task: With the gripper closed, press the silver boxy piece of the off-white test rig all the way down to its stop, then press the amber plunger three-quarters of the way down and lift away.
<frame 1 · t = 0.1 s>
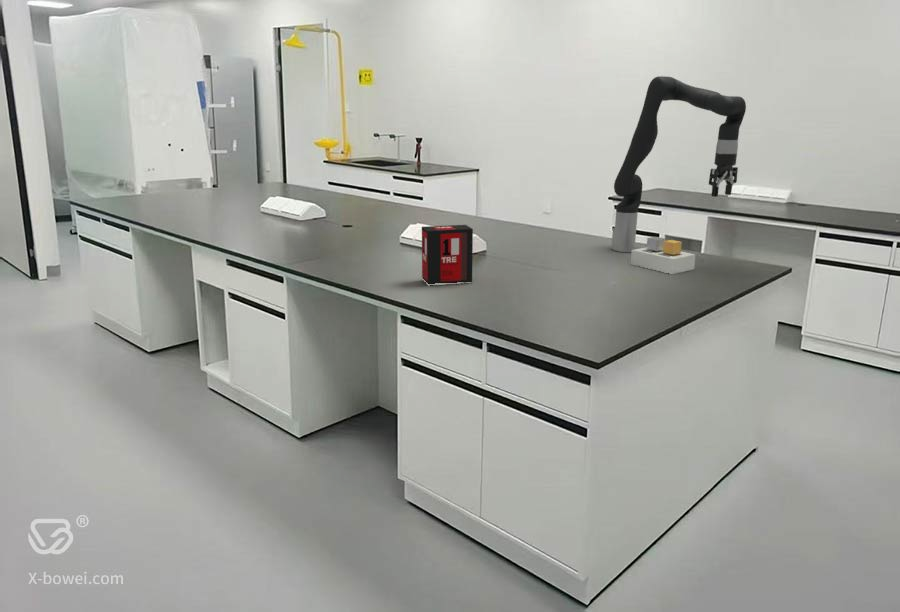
hand: (721, 195, 260), 29 cm above the countertop, fingers open, 8 cm apart
test rig: (661, 266, 273), on the countertop
silver boxy piece: (655, 243, 273), point 9 cm above the countertop, slide at 0.0 cm
amber plunger: (672, 247, 267), point 9 cm above the countertop, slide at 0.0 cm
cleaning product box: (446, 282, 250), on the countertop
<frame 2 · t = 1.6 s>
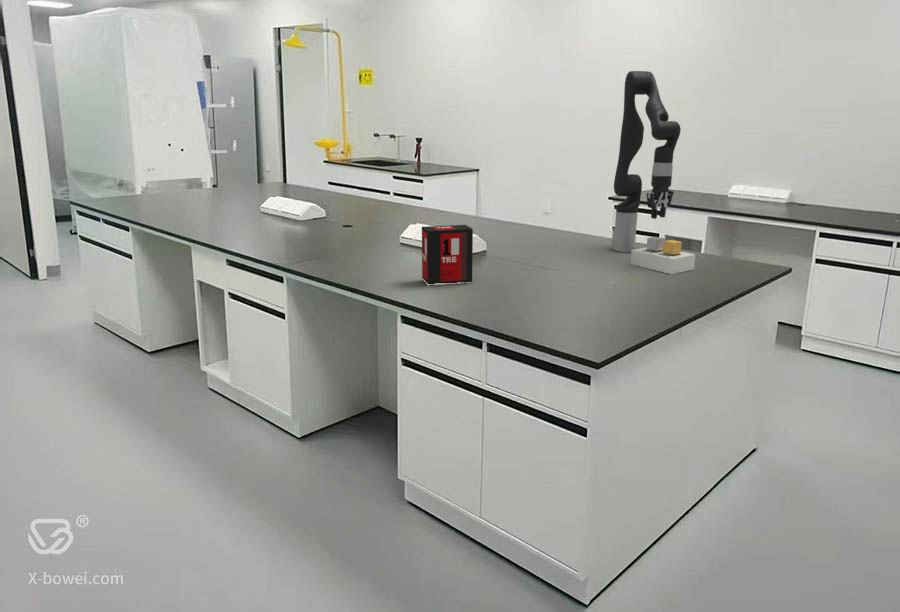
hand: (658, 217, 270), 19 cm above the countertop, fingers open, 4 cm apart
nothing on the countertop moved.
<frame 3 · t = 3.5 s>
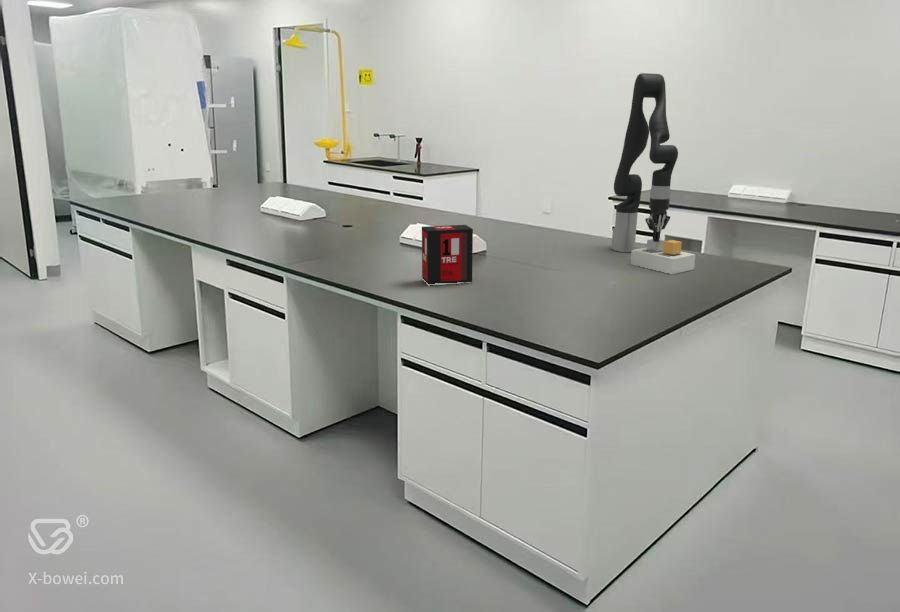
hand: (656, 240, 273), 10 cm above the countertop, fingers closed
silver boxy piece: (655, 246, 274), point 8 cm above the countertop, slide at 0.9 cm, touching gripper
everything else where it was.
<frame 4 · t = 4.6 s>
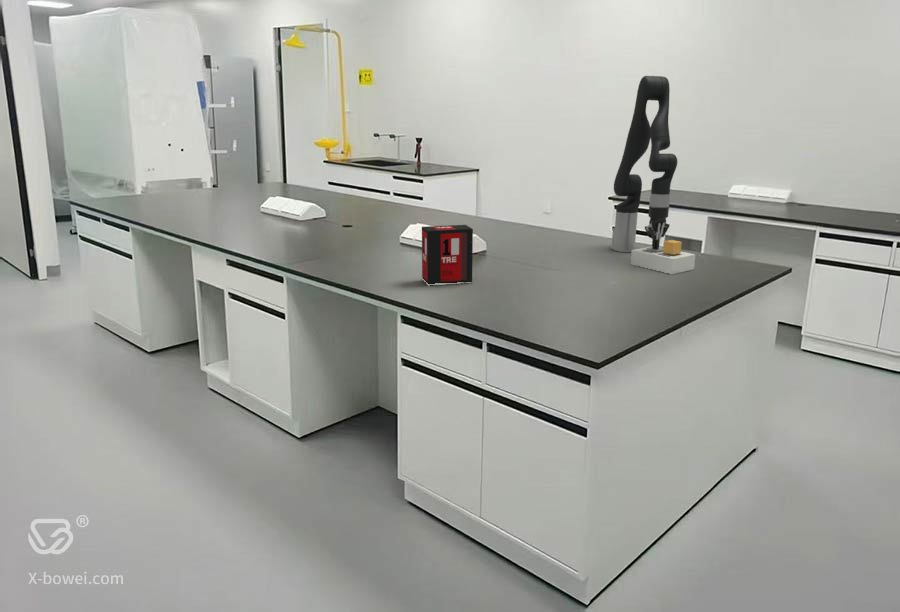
hand: (655, 248, 274), 7 cm above the countertop, fingers closed
silver boxy piece: (654, 253, 275), point 5 cm above the countertop, slide at 4.1 cm, touching gripper
everything else where it was.
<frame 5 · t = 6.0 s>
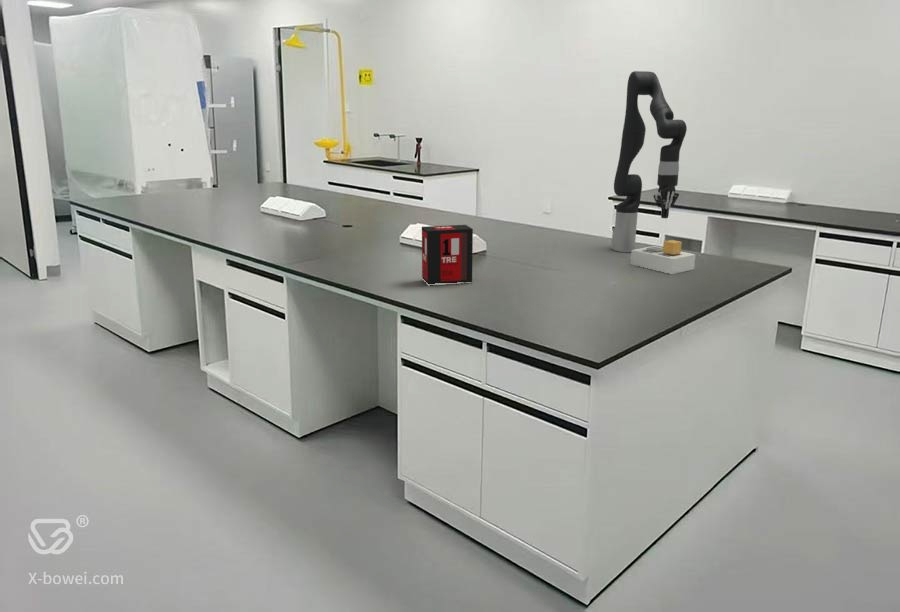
hand: (664, 218, 268), 20 cm above the countertop, fingers closed
silver boxy piece: (654, 253, 275), point 5 cm above the countertop, slide at 4.1 cm
everything else where it was.
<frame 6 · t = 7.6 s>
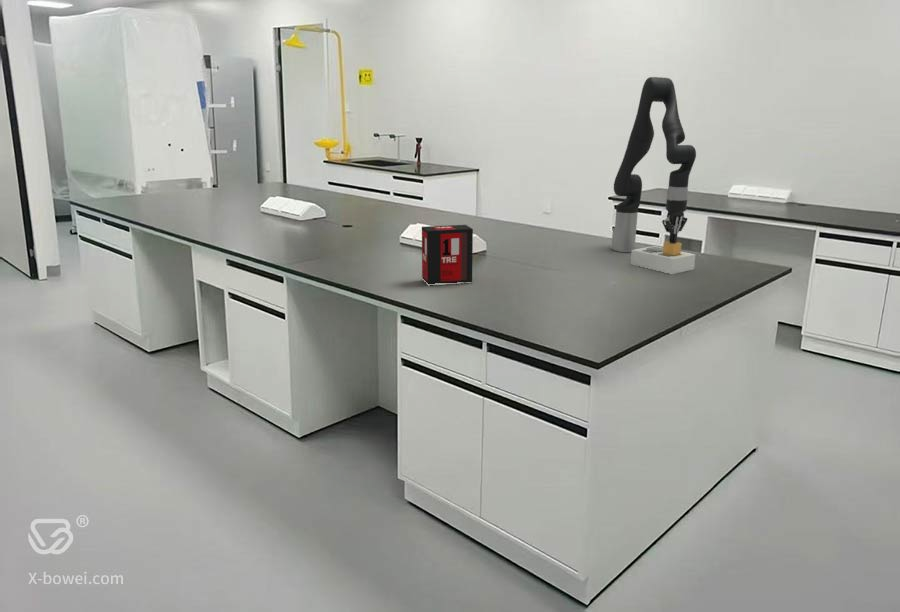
hand: (672, 242, 267), 11 cm above the countertop, fingers closed
amber plunger: (672, 248, 267), point 8 cm above the countertop, slide at 0.5 cm, touching gripper
everything else where it was.
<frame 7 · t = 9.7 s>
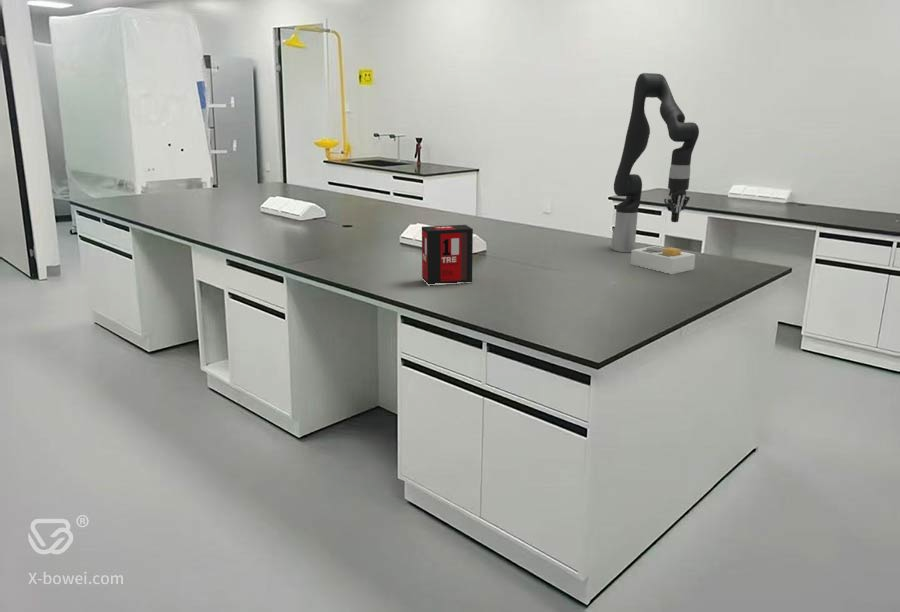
hand: (674, 221, 264), 19 cm above the countertop, fingers closed
amber plunger: (671, 254, 268), point 6 cm above the countertop, slide at 3.0 cm
everything else where it was.
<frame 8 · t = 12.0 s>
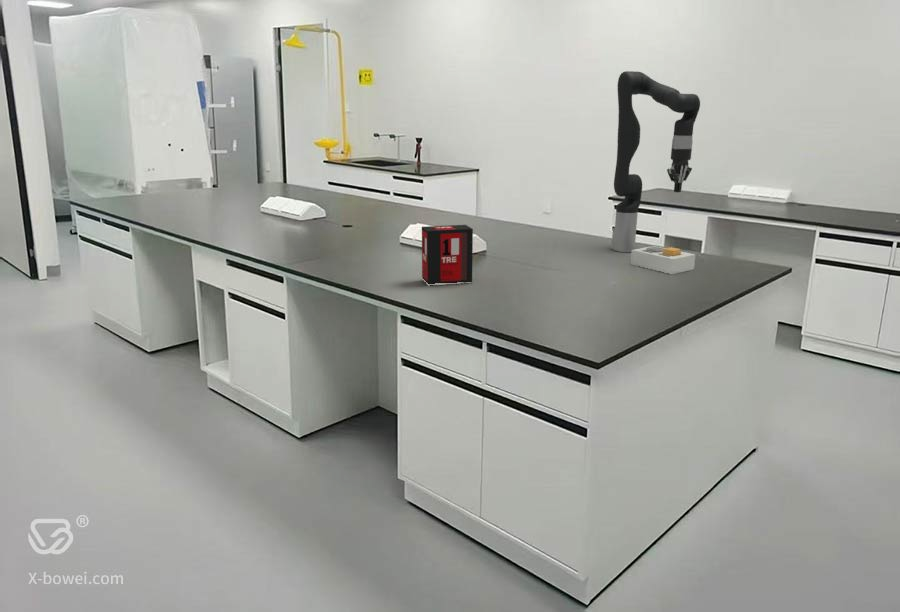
hand: (677, 192, 270), 29 cm above the countertop, fingers closed
nothing on the countertop moved.
at the end: silver boxy piece slide at 4.1 cm; amber plunger slide at 3.0 cm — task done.
